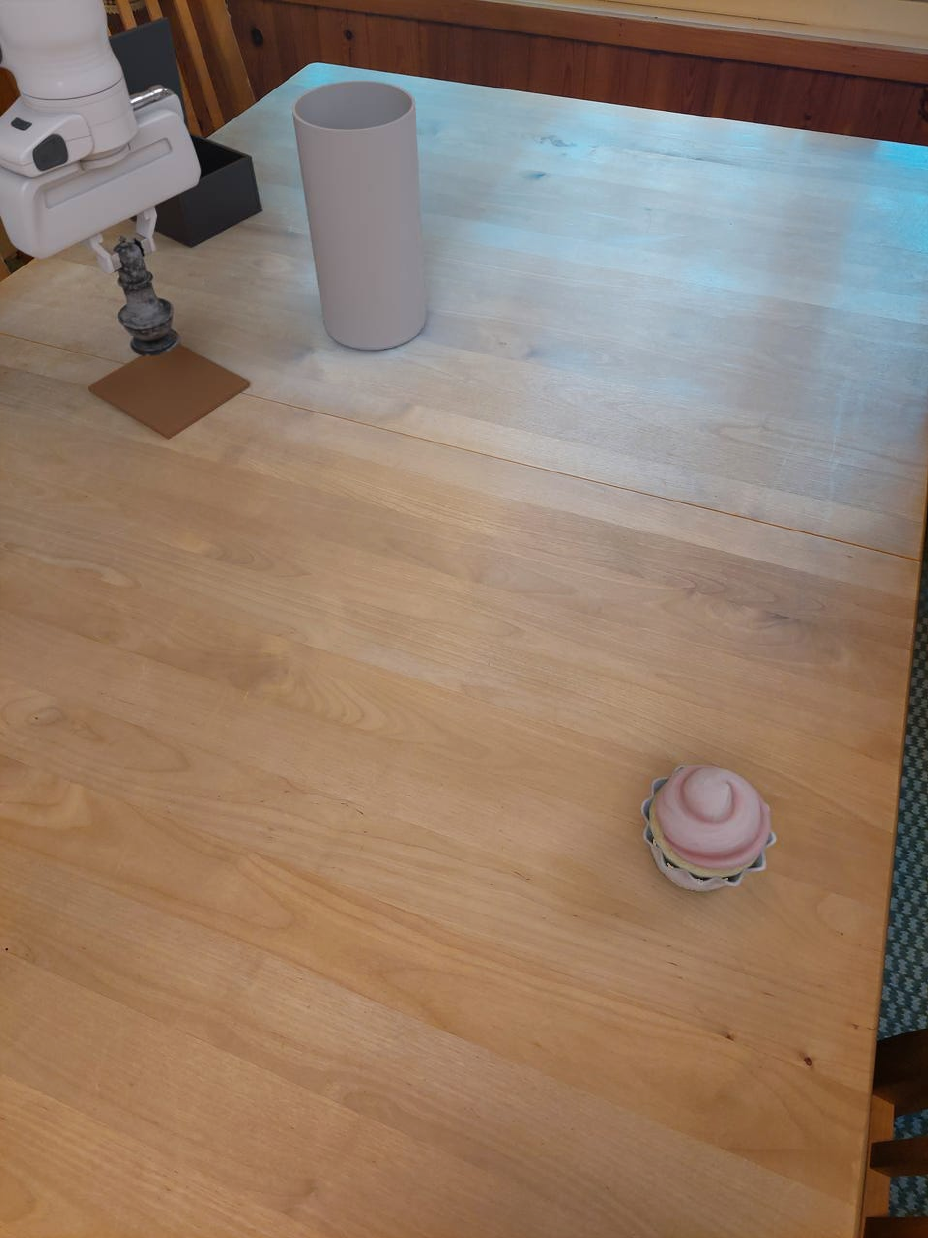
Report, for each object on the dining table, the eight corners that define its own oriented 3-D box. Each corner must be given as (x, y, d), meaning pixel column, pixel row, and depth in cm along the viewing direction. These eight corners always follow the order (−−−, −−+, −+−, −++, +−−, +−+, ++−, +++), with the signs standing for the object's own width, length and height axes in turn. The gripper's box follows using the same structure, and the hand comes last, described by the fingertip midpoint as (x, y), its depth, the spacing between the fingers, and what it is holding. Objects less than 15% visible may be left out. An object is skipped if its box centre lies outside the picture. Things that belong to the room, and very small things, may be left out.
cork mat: (88, 391, 103) (87, 386, 102) (170, 342, 108) (169, 338, 108) (168, 439, 97) (167, 435, 96) (250, 385, 103) (249, 381, 102)
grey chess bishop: (117, 353, 97) (79, 247, 87) (142, 323, 100) (108, 218, 91) (168, 360, 96) (134, 253, 86) (191, 329, 99) (161, 224, 90)
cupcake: (755, 929, 62) (794, 870, 55) (621, 895, 64) (641, 832, 56) (764, 812, 68) (801, 742, 60) (641, 783, 70) (661, 711, 62)
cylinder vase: (438, 342, 108) (428, 121, 88) (335, 361, 106) (303, 138, 86) (412, 289, 115) (398, 74, 96) (316, 305, 113) (282, 88, 94)
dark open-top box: (262, 210, 129) (251, 155, 123) (191, 247, 123) (176, 192, 117) (201, 184, 134) (188, 130, 129) (130, 219, 128) (113, 164, 122)
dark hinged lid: (168, 17, 117) (164, 15, 117) (84, 48, 110) (80, 46, 111) (189, 128, 128) (185, 126, 128) (114, 162, 122) (110, 160, 122)
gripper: (151, 70, 86) (187, 212, 97) (-39, 145, 76) (24, 294, 87) (195, 86, 84) (227, 229, 95) (4, 165, 74) (64, 316, 85)
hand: (128, 261), depth 91 cm, fingers closed on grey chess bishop, 3 cm apart
